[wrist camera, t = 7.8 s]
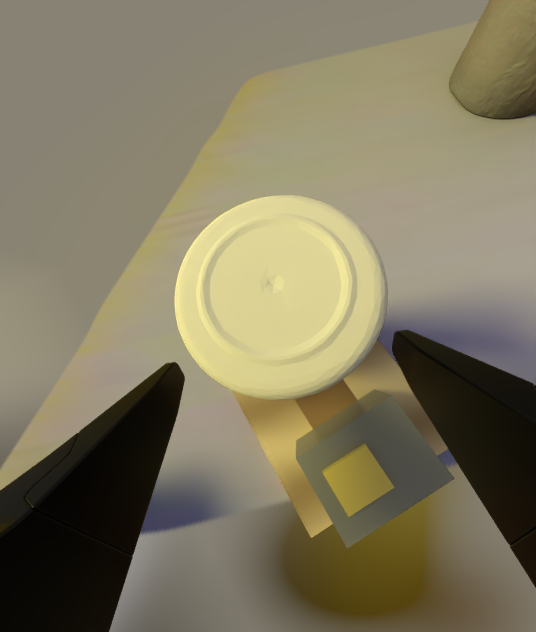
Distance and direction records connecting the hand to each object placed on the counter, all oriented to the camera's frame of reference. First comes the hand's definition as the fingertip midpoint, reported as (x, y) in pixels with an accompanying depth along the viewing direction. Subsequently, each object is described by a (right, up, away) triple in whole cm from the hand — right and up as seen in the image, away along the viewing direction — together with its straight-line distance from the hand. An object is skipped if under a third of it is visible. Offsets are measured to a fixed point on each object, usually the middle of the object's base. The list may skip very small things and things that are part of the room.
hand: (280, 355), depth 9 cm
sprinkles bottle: (+1, -1, +9) cm, 9 cm away
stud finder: (+6, -8, +7) cm, 12 cm away
